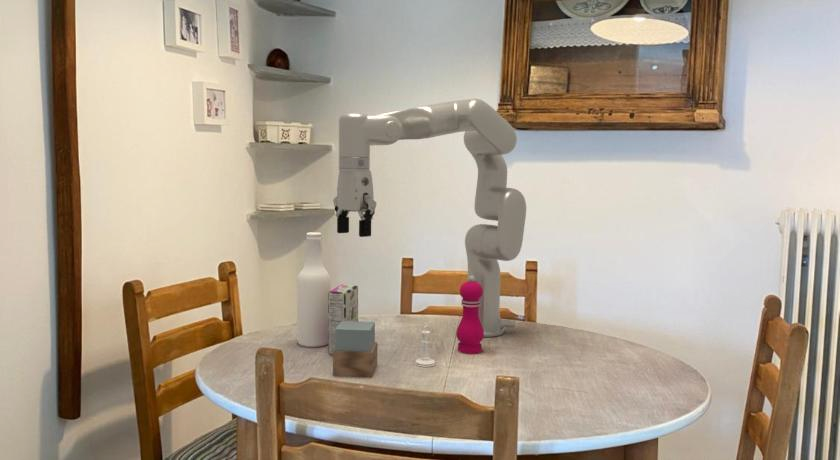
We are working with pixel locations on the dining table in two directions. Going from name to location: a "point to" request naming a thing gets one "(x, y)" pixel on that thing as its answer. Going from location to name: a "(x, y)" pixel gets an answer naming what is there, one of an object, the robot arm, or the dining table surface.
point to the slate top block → (355, 336)
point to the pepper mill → (470, 318)
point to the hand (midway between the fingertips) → (353, 234)
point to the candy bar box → (341, 309)
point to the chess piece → (425, 351)
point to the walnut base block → (355, 363)
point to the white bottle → (313, 296)
